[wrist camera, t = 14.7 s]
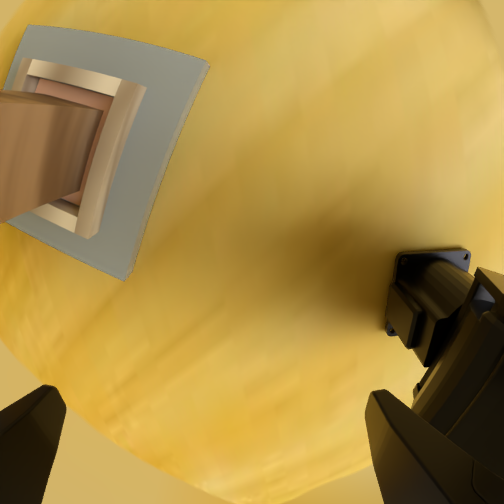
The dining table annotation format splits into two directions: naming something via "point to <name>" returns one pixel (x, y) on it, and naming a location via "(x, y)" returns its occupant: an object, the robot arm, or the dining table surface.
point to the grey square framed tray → (108, 135)
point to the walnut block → (42, 149)
